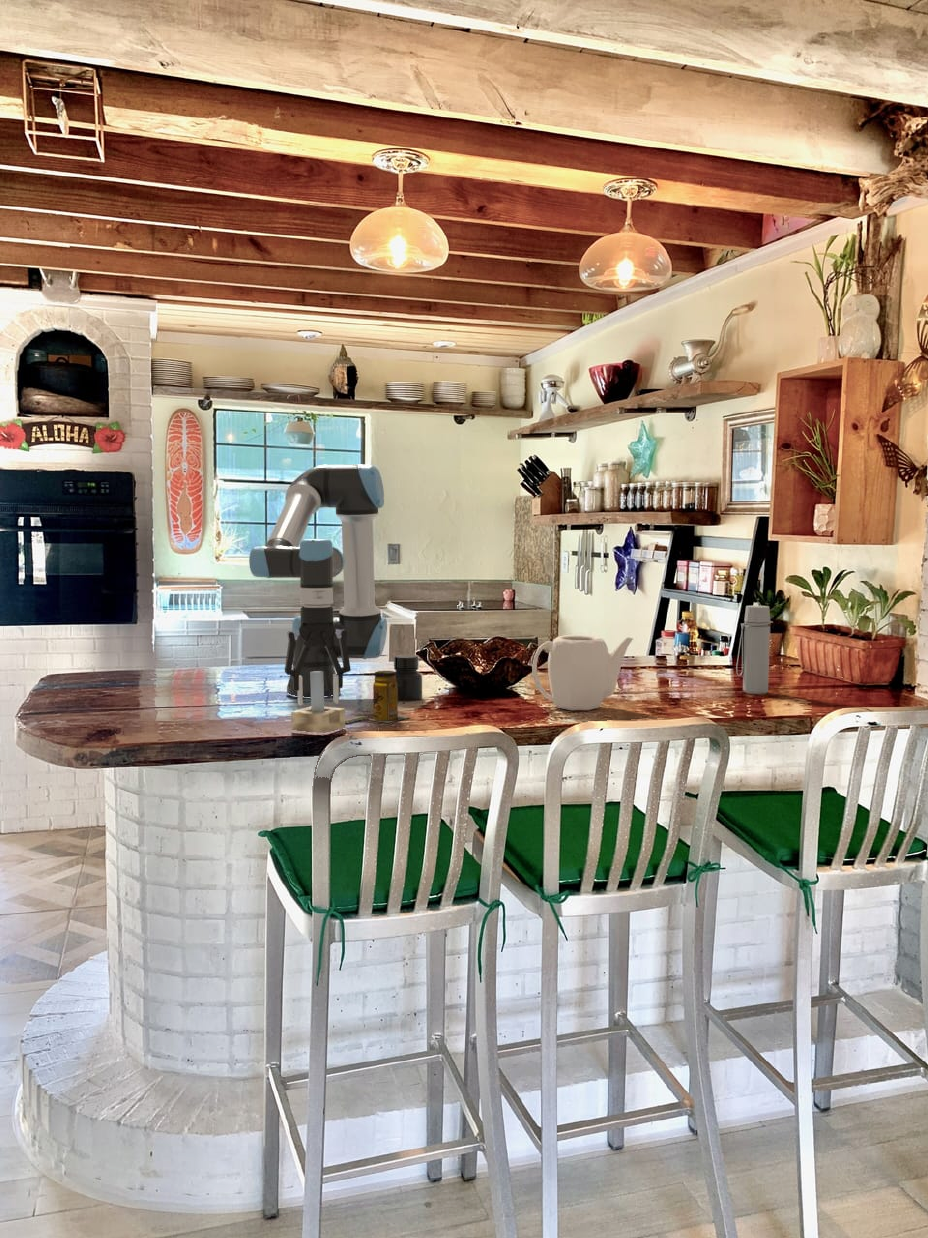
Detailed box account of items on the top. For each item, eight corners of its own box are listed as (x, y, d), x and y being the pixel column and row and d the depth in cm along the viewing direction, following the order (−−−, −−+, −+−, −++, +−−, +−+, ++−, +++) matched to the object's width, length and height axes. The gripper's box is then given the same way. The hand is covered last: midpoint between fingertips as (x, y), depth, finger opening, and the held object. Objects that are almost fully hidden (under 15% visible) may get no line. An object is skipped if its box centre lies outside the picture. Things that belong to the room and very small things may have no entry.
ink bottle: (395, 695, 274) (395, 653, 273) (425, 696, 272) (425, 654, 271) (386, 701, 264) (385, 658, 263) (417, 702, 262) (417, 659, 261)
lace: (337, 726, 232) (337, 722, 232) (334, 725, 232) (334, 722, 232) (366, 719, 240) (365, 716, 240) (363, 718, 240) (363, 715, 240)
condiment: (366, 719, 240) (365, 672, 238) (390, 714, 246) (389, 668, 245) (387, 723, 235) (386, 675, 234) (410, 718, 241) (410, 671, 240)
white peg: (309, 732, 225) (307, 672, 224) (316, 729, 228) (315, 670, 226) (320, 733, 224) (318, 673, 222) (327, 730, 227) (325, 671, 225)
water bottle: (765, 690, 282) (768, 605, 279) (771, 695, 274) (774, 607, 272) (733, 690, 283) (735, 605, 280) (738, 694, 275) (740, 607, 273)
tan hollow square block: (291, 733, 224) (291, 711, 223) (314, 725, 232) (313, 705, 231) (323, 737, 220) (323, 715, 219) (345, 729, 228) (345, 708, 227)
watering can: (637, 713, 248) (639, 640, 246) (534, 713, 248) (535, 640, 246) (626, 702, 264) (627, 633, 262) (529, 702, 263) (529, 633, 261)
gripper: (274, 608, 216) (275, 708, 218) (364, 606, 223) (364, 703, 225) (269, 605, 223) (271, 702, 226) (357, 603, 230) (358, 698, 232)
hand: (318, 703), depth 225 cm, fingers open, 8 cm apart
